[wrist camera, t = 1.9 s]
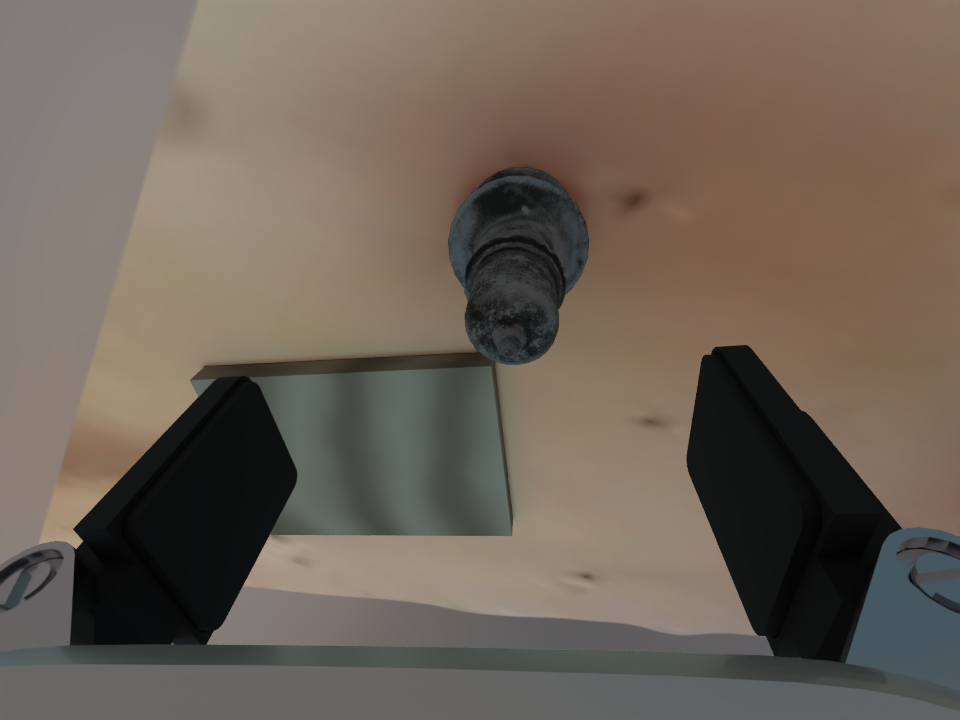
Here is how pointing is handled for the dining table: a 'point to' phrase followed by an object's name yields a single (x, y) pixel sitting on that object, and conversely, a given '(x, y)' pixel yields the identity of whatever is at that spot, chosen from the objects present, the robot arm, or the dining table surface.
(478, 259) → the dark grey chess piece
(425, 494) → the serving board
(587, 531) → the dining table surface
